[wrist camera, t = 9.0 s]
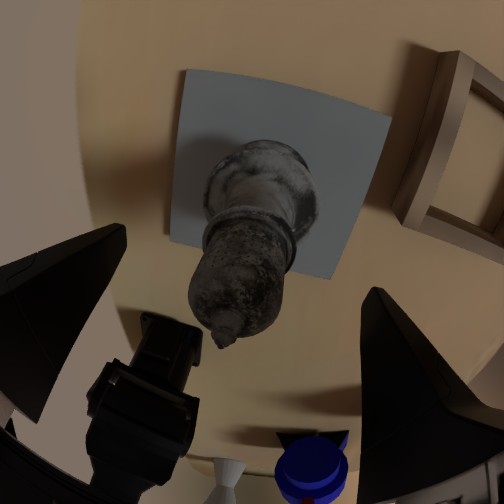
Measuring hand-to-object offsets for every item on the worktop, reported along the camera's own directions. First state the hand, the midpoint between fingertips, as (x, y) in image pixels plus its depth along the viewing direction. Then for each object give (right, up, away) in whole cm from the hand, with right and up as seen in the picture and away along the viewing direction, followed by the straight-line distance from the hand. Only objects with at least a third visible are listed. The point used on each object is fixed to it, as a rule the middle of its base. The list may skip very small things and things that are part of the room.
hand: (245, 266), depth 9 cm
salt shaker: (+1, +5, +7) cm, 9 cm away
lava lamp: (-5, -53, +48) cm, 72 cm away
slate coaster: (+1, +5, +8) cm, 10 cm away
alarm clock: (+11, -32, +31) cm, 46 cm away
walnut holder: (+16, +7, +4) cm, 18 cm away
